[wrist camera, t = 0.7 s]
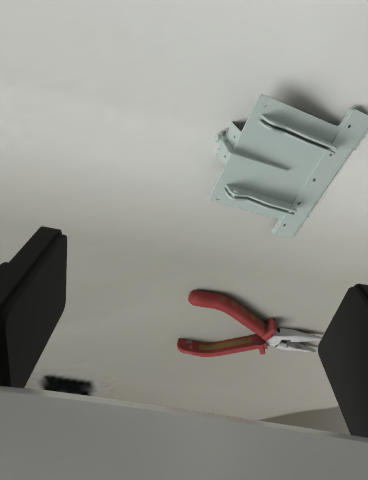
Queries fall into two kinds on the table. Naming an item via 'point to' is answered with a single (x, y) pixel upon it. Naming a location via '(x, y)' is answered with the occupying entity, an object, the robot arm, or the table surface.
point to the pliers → (263, 330)
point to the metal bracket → (283, 161)
